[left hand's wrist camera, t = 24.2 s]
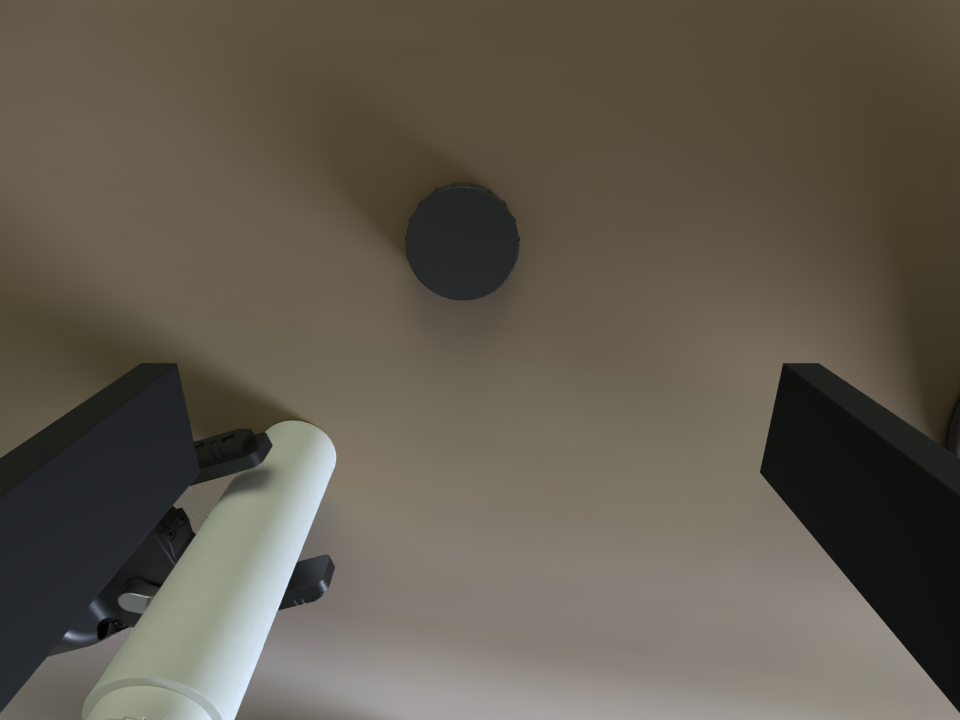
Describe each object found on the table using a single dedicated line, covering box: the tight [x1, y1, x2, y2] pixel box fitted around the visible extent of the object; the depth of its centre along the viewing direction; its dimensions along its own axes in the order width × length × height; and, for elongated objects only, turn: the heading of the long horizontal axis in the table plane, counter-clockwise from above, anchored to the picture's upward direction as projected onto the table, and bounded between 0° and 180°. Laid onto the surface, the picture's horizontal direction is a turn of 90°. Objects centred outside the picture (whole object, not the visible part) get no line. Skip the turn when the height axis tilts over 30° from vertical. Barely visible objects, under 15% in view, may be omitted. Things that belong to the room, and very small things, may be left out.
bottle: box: [82, 421, 336, 720], centre depth 26 cm, size 5×5×19 cm
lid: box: [405, 182, 520, 300], centre depth 29 cm, size 6×6×2 cm
